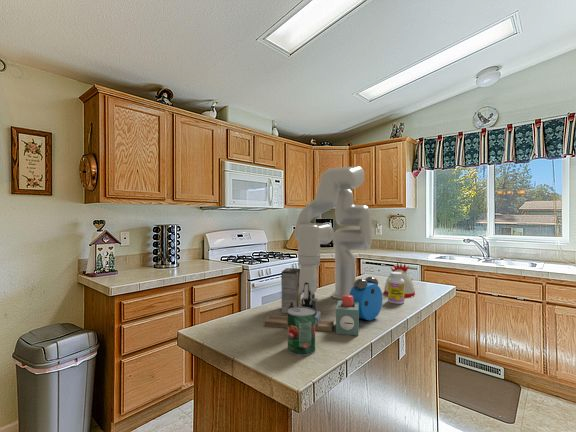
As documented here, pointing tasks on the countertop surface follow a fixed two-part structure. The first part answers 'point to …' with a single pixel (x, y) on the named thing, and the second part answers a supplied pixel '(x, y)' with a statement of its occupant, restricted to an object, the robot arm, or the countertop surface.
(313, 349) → the canned tomato
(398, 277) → the supplement bottle
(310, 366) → the countertop surface
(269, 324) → the rail plank
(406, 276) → the kitchen timer
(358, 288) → the alarm clock
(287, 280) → the coffee box
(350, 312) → the cabinet
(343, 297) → the plunger
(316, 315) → the carriage
